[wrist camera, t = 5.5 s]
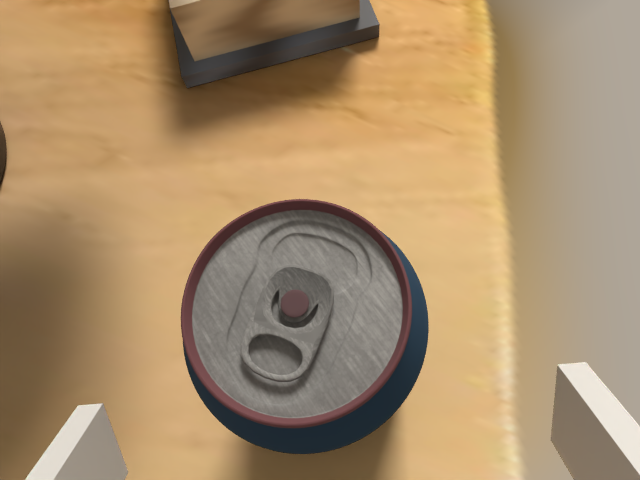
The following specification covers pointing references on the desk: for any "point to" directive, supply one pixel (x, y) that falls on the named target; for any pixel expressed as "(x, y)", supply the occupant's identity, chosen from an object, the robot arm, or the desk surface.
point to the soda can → (303, 326)
